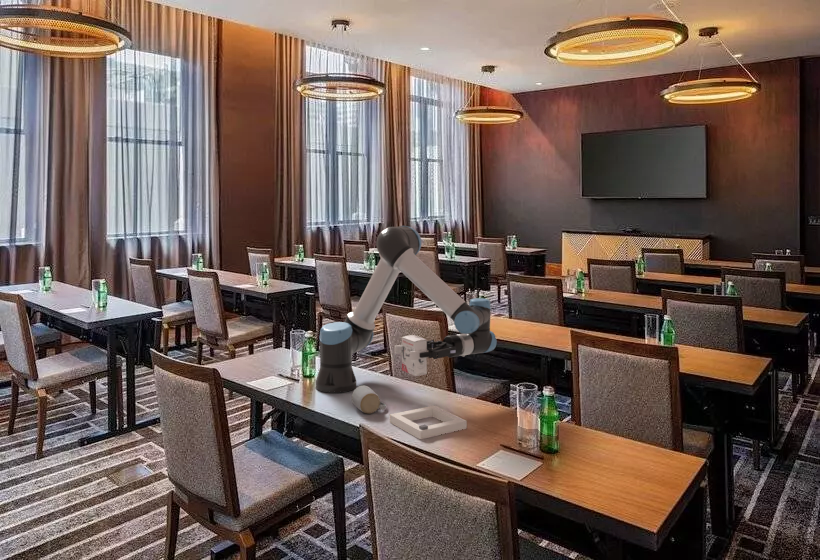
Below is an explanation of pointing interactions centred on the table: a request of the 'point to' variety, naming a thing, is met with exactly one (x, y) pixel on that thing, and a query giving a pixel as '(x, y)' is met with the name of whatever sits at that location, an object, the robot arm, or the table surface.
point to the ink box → (408, 345)
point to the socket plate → (424, 431)
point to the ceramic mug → (367, 400)
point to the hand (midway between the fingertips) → (402, 352)
